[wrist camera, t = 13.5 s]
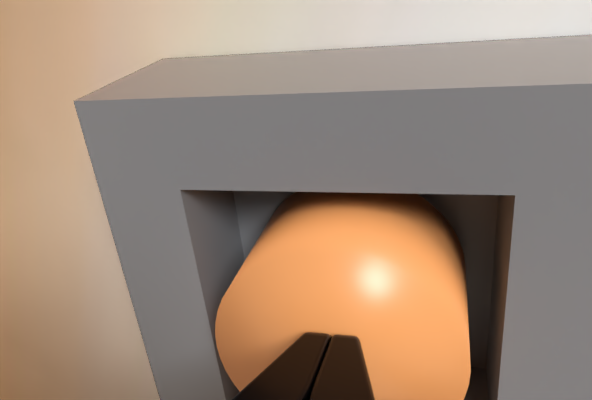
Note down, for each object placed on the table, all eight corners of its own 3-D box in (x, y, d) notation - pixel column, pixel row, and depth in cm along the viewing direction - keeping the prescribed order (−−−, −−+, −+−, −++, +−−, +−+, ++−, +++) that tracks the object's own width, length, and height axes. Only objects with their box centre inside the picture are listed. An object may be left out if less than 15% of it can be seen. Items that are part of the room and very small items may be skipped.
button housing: (601, 34, 9) (664, 81, 6) (549, 393, 12) (576, 519, 10) (162, 58, 11) (73, 100, 8) (225, 358, 14) (176, 454, 12)
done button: (470, 176, 9) (477, 255, 7) (462, 357, 11) (465, 465, 9) (248, 174, 10) (194, 242, 8) (273, 339, 12) (234, 431, 10)
